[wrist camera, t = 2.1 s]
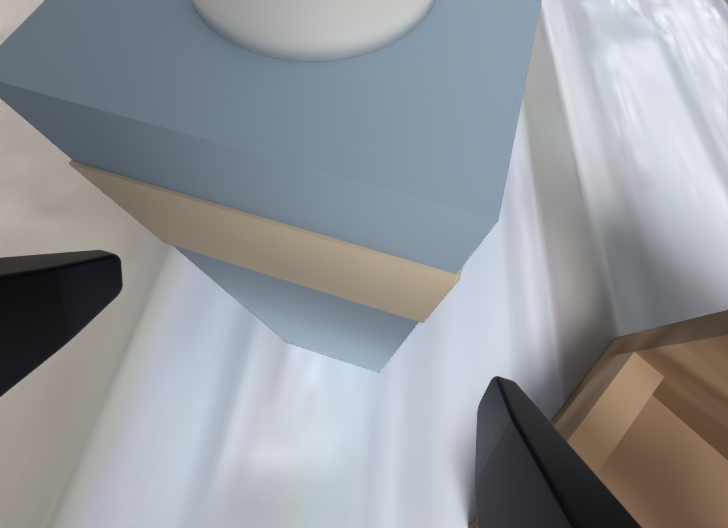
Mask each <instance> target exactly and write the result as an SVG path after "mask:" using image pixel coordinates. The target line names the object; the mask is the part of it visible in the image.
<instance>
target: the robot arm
mask: <svg viewBox="0 0 728 528" xmlns="http://www.w3.org/2000/svg"><path fill="white" fill-rule="evenodd" d="M122 286H123V283H122V269H121V260H120V258H119V256H117V255H116V254H113V253H110V252H107V251H103V250H92V251H79V252H67V253H54V254H41V255H29V256H16V257H4V258H0V397H1V396H2V395H3V394H5V393H6V392H7V391H8V390H10V389H11V388H12V387H13V386H15V385H16V384H17V383H18V382H20V381H21V380H22V379H23V378H25V377H26V376H27V375H28V374H30V373H31V372H32V371H33V370H35V369H36V368H37V367H38V366H40V365H41V364H42V363H43V362H45V361H46V360H47V359H48V358H50V357H51V356H52V355H53V354H55V353H56V352H57V351H58V350H60V349H61V348H62V347H63V346H64V345H66V344H67V343H68V342H69V341H70V340H71V339H72V338H74V337H75V336H76V335H77V334H78V333H79V332H80V331H81V330H82V329H83V328H84V327H85V326H86V325H87V324H88V323H90V322H91V321H92V320H93V319H94V318H95V317H96V316H97V315H98V314H99V313H100V312H101V311H102V310H103V309H104V308H105V307H106V306H107V305H108V304H110V303H111V302H112V301H113V300H114V299H115V298H116V297H117V296H118V295H119V293H120V292H121V290H122ZM475 494H476V508H477V522H478V528H642V527H641V526H640V525H639V523H638V522H637V521H636V520H635V519H634V518H633V517H632V515H631V514H630V513H629V512H628V511H627V510H626V509H625V507H624V506H623V505H622V504H621V503H620V502H619V501H618V499H617V498H616V497H615V496H614V495H613V494H612V493H611V491H610V490H609V489H608V488H607V487H606V486H605V485H604V483H603V482H602V481H601V480H600V479H599V478H598V477H597V475H596V474H595V473H594V472H593V471H592V470H591V469H590V467H589V466H588V465H587V464H586V463H585V462H584V461H583V459H582V458H581V457H580V456H579V455H578V454H577V453H576V451H575V450H574V449H573V448H572V447H571V446H570V445H569V443H568V442H567V441H566V440H565V439H564V438H563V437H562V435H561V434H560V433H559V432H558V431H557V430H556V428H555V427H554V426H553V425H552V424H551V423H550V422H549V420H548V419H547V418H546V417H545V416H544V415H543V414H542V412H541V411H540V410H539V409H538V408H537V407H536V406H535V404H534V403H533V402H532V401H531V400H530V399H529V398H528V396H527V395H526V394H525V393H524V392H523V391H522V390H521V388H520V387H519V386H518V385H517V384H516V383H515V382H514V381H512V380H508V379H505V378H502V377H499V376H496V377H494V378H493V379H492V380H491V381H490V383H489V385H488V387H487V389H486V391H485V393H484V395H483V397H482V399H481V401H480V404H479V407H478V412H477V435H476V462H475Z"/></svg>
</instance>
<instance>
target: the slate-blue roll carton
mask: <svg viewBox="0 0 728 528" xmlns="http://www.w3.org/2000/svg"><path fill="white" fill-rule="evenodd" d="M540 5H541V0H45V1H44V2H43V3H42V4H41V5H40V6H39V7H38V8H37V9H36V10H35V11H34V12H33V13H32V14H31V15H30V16H29V17H28V18H27V19H26V20H25V21H24V22H23V23H22V24H21V25H20V26H19V27H18V28H17V29H16V30H15V31H14V32H13V33H12V34H11V35H10V36H9V37H8V38H7V39H6V40H5V41H4V42H3V43H2V44H1V46H0V98H1V99H2V100H3V101H4V102H5V103H7V104H8V105H9V106H10V107H11V108H12V109H14V110H15V111H16V112H17V113H18V114H19V115H21V116H22V117H23V118H24V119H25V120H26V121H28V122H29V123H30V124H31V125H32V126H33V127H35V128H36V129H37V130H38V131H39V132H40V133H42V134H43V135H44V136H45V137H46V138H48V139H49V140H50V141H51V142H52V143H53V144H55V145H56V146H57V147H58V148H59V149H60V150H62V151H63V152H64V153H65V154H66V155H67V156H69V157H70V158H71V159H72V160H71V162H70V163H69V164H70V165H71V166H72V167H73V168H75V169H76V170H77V171H78V172H79V173H81V174H82V175H83V176H84V177H85V178H87V179H88V180H89V181H90V182H92V183H93V184H94V185H95V186H96V187H98V188H99V189H100V190H101V191H102V192H104V193H105V194H106V195H107V196H108V197H110V198H111V199H112V200H113V201H114V202H116V203H117V204H118V205H119V206H120V207H122V208H123V209H124V210H125V211H126V212H128V213H129V214H130V215H131V216H132V217H134V218H135V219H136V220H137V221H138V222H140V223H141V224H142V225H143V226H145V227H146V228H147V229H148V230H149V231H151V232H152V233H153V234H154V235H155V236H157V237H158V238H159V239H160V240H161V241H163V242H164V243H167V244H170V245H173V246H174V247H175V248H176V249H177V250H179V251H180V252H181V253H182V254H183V255H184V256H186V257H187V258H188V259H189V260H190V261H191V262H193V263H194V264H195V265H196V266H197V267H198V268H200V269H201V270H202V271H203V272H204V273H206V274H207V275H208V276H209V277H210V278H211V279H213V280H214V281H215V282H216V283H217V284H218V285H220V286H221V287H222V288H223V289H224V290H225V291H227V292H228V293H229V294H230V295H231V296H232V297H234V298H235V299H236V300H237V301H238V302H239V303H241V304H242V305H243V306H244V307H245V308H246V309H248V310H249V311H250V312H251V313H252V314H254V315H255V316H256V317H257V318H258V319H259V320H261V321H262V322H263V323H264V324H265V325H266V326H268V327H269V328H270V329H271V330H272V331H273V332H275V333H276V334H277V335H278V336H279V337H280V338H282V339H283V340H284V341H285V342H287V343H290V344H293V345H296V346H299V347H302V348H305V349H308V350H311V351H314V352H317V353H320V354H323V355H326V356H329V357H332V358H335V359H338V360H341V361H344V362H348V363H351V364H354V365H357V366H360V367H363V368H366V369H369V370H372V371H375V372H378V373H380V371H381V370H382V369H383V367H384V366H385V365H386V364H387V362H388V361H389V360H390V358H391V357H392V356H393V355H394V353H395V352H396V351H397V349H398V348H399V347H400V346H401V344H402V343H403V342H404V340H405V339H406V338H407V337H408V335H409V334H410V333H411V332H412V330H413V329H414V328H415V326H416V325H417V324H418V323H419V322H421V323H423V322H424V321H425V320H426V319H427V318H428V316H429V315H430V314H431V313H432V312H433V310H434V309H435V308H436V307H437V306H438V304H439V303H440V302H441V301H442V300H443V299H444V297H445V296H446V295H447V294H448V293H449V291H450V290H451V289H452V288H453V287H454V285H455V284H456V283H457V282H458V281H459V279H460V275H461V270H462V266H463V265H464V264H465V262H466V261H467V260H468V258H469V257H470V256H471V255H472V253H473V252H474V251H475V249H476V248H477V247H478V246H479V244H480V243H481V242H482V241H483V239H484V238H485V237H486V235H487V234H488V233H489V232H490V230H491V229H492V228H493V226H494V225H495V224H496V223H497V221H498V218H499V213H500V208H501V203H502V198H503V193H504V188H505V183H506V178H507V173H508V168H509V163H510V158H511V153H512V147H513V142H514V137H515V132H516V127H517V122H518V117H519V112H520V107H521V102H522V97H523V92H524V87H525V82H526V76H527V71H528V66H529V61H530V56H531V51H532V46H533V41H534V36H535V31H536V26H537V21H538V16H539V11H540Z"/></svg>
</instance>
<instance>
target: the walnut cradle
mask: <svg viewBox="0 0 728 528" xmlns="http://www.w3.org/2000/svg"><path fill="white" fill-rule="evenodd" d="M550 423H551V424H552V425H553V426H554V427H555V428H556V430H557V431H558V432H559V433H560V434H561V435H562V437H563V438H564V439H565V440H566V441H567V442H568V443H569V445H570V446H571V447H572V448H573V449H574V450H575V451H576V453H577V454H578V455H579V456H580V457H581V458H582V459H583V461H584V462H585V463H586V464H587V465H588V466H589V467H590V469H591V470H592V471H593V472H594V473H595V474H596V475H597V477H598V478H599V479H600V480H601V481H602V482H603V483H604V485H605V486H606V487H607V488H608V489H609V490H610V491H611V493H612V494H613V495H614V496H615V497H616V498H617V499H618V501H619V502H620V503H621V504H622V505H623V506H624V507H625V509H626V510H627V511H628V512H629V513H630V514H631V515H632V517H633V518H634V519H635V520H636V521H637V522H638V523H639V525H640V526H641V527H642V528H728V310H726V311H722V312H718V313H714V314H710V315H706V316H702V317H698V318H694V319H690V320H686V321H682V322H678V323H674V324H670V325H666V326H662V327H658V328H653V329H649V330H645V331H641V332H637V333H633V334H629V335H625V336H621V337H617V338H615V340H614V341H613V342H612V343H611V345H610V346H609V347H608V349H607V350H606V351H605V352H604V354H603V355H602V356H601V358H600V359H599V360H598V361H597V363H596V364H595V365H594V367H593V368H592V369H591V370H590V372H589V373H588V374H587V376H586V377H585V378H584V379H583V381H582V382H581V383H580V385H579V386H578V387H577V388H576V390H575V391H574V392H573V394H572V395H571V396H570V397H569V399H568V400H567V401H566V403H565V404H564V405H563V406H562V408H561V409H560V410H559V412H558V413H557V414H556V415H555V417H554V418H553V419H552V421H551V422H550ZM468 528H478V522H477V517H476V518H475V520H474V521H473V522H472V523H471V525H470V526H469V527H468Z"/></svg>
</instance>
